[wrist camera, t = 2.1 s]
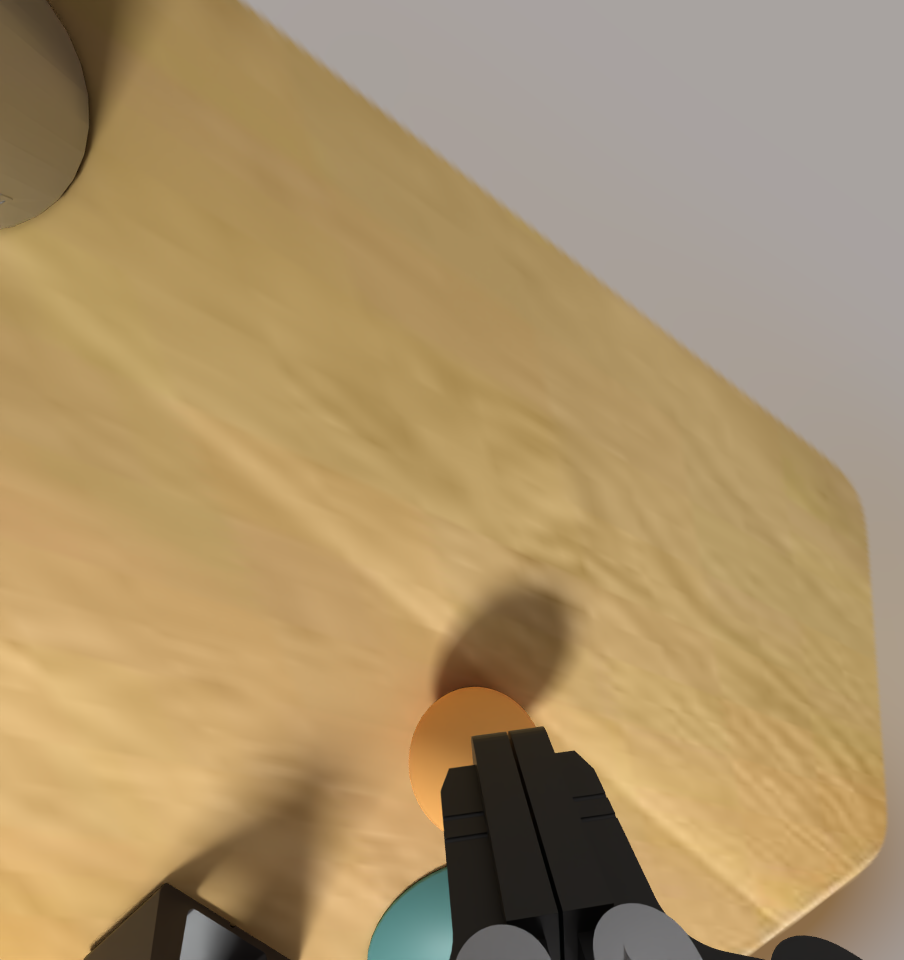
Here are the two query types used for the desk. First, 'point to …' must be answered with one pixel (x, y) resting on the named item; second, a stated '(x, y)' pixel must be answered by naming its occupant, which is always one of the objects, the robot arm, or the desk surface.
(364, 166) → the desk surface
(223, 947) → the phone stand
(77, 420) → the desk surface
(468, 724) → the ball
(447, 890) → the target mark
